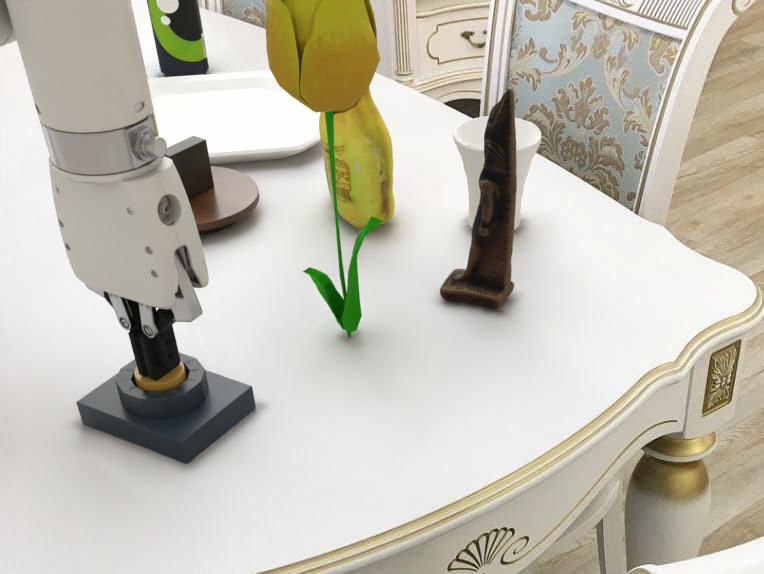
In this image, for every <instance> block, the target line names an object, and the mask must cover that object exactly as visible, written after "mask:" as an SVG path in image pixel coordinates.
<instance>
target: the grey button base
mask: <svg viewBox="0 0 764 574" xmlns="http://www.w3.org/2000/svg"><path fill="white" fill-rule="evenodd" d="M179 356H180V361H181V362H182V363H183V364H184V367H185V371H186V376H187V380H186V381H185V382H183V383H182V384H181V385H179V386H178V387H175V388H172V389H168V390H165V391H146V390H143V389H140V388H138V387H137V384H136V380H135V376H134V370H135V368H136V367H137V365H136V361H135V358H134V359H132V360H131V361H130V362H128V363H127V364H126V365H124V366H122V367H121V368H120V369H119V371H118V372H117V373H116V374H114V375H113V376H111V377H110V378H108V379H107V380H105V381H104V382H102V384H100V385H98V386H97V387H96V388H94V389H93V390H91V391H89V392H88V393H87V394H86V395H84V396H83V397H81V398H80V399H78V400H77V401H76V406H77V410H78V413H79V416H80V419H81V422H82V424H83V425H84V426H87V427H89V428H92V429H95V430H97V431H100V432H102V433H104V434H107V435H109V436H112V437H115V438H118V439H120V440H123V441H126V442H129V443H131V444H133V445H135V446H138V447H141V448H143V449H147V450H149V451H152V452H154V453H157V454H159V455H162V456H165V457H168V458H170V459H172V460H175V461H177V462H180V463H183V464H185V465H188V464H189V463H191V462H192V461H193V460H194V459H195V458H196V457H198V456H199V455H200V454H201V453H203V452H204V451H205V450H207V449H208V448H209V447H210V446H212V445H213V444H214V443H216V441H218V440H219V439H220V438H221V437H222V436H224V435H225V434H226V433H228V432H229V431H230V430H231V429H232V428H233V427H235V426H236V425H237V424H239V423H240V422H241V421H242V420H243V419H245V418H246V417H247V416H248V415H249V414H250V413H252V412H253V411H254V410H255V409H256V408H257V406H256V401H255V395H254V390H253V386H252V385H249V384H247V383H244V382H241V381H239V380H236V379H233V378H230V377H227V376H224V375H221V374H218V373H216V372H212V371H210V370H206V368H205V367H204V366H203V364H202V363H201V362H200V361H199V359H197V357H194V356H190V355H188V354H185V353H183V352H179Z"/></svg>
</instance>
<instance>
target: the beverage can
mask: <svg viewBox="0 0 764 574" xmlns="http://www.w3.org/2000/svg"><path fill="white" fill-rule="evenodd" d="M146 4H147V9H148V15H149V19H150V25H151V29H152V35H153V40H154V45H155V49H156V55H157V59H158V60H157V61H158V65H159V70H160V72H161V73H162V74H163V75H164V77H175V76H190V75H205V74H207V72H208V71H209V69H210V65H209V59H208V52H207V47H206V42H205V41H206V40H205V35H204V28H203V24H202V17H201V10H200V6H199V5H200V4H199V0H146Z"/></svg>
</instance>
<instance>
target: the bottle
mask: <svg viewBox="0 0 764 574" xmlns="http://www.w3.org/2000/svg"><path fill="white" fill-rule="evenodd" d="M319 131H320V139H321V142H320V144H321V151H322V157H323V163H324V171H325V172H324V173H325V177H326V183H327V189H328V192H329V196H330V200H331V203H332V205H333V206H334V200H333V189H332V178H331V167H330V157H329V148H328V138H327V128H326V119H325V112H320V117H319ZM393 152H394V149H393V142H392V137H391V135H390V132H389V129H388V126H387V124H386V122H385V120H384V119H383V116H382V114H381V113H380V110H379V108H378V107H377V105H376V104H375V102H374V99H373V97H372V94H371V89H370V87H369V88H368V90H367V91H366V93H365V95H364V96H363V97H361V99H360V100H359V102H358V103H357V105H356V107H354V108H352V109H350V110H348V111H346V112H345V113H340V114H334V158H335V177H336V196H337V210H338V214H339V215H340V216H341V217H342V219H343V220H345V222H348V223H349V224H350V225H351V226H353V227H355V228H357V229H358V228H359V229H361V230H362V229H363V227H364V226H365V225H366V224H367V222H368V221H369V219H370V218H371V217H374V218H377V219H380V220H382V221H383V222H382V223H381V224H380V225H378V226H377V227H379V226H381V225H384V224H385V223H387V222H389V221H390V220H391V219H392V218H393V216H394V213H395V195H394V190H393V188H394V187H393V185H394V154H393Z"/></svg>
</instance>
